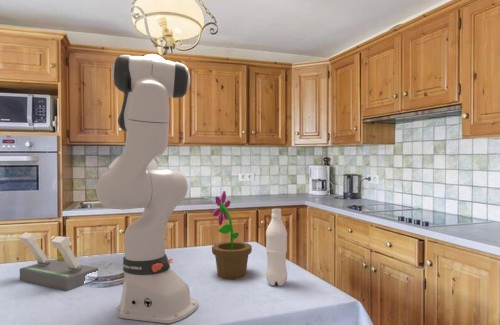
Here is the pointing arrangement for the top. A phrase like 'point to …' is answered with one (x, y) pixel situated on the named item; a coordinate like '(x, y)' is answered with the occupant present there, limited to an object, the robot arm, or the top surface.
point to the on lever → (34, 247)
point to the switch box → (55, 275)
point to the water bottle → (276, 250)
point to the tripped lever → (66, 252)
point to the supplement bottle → (59, 256)
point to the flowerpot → (229, 247)
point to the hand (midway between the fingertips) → (121, 181)
